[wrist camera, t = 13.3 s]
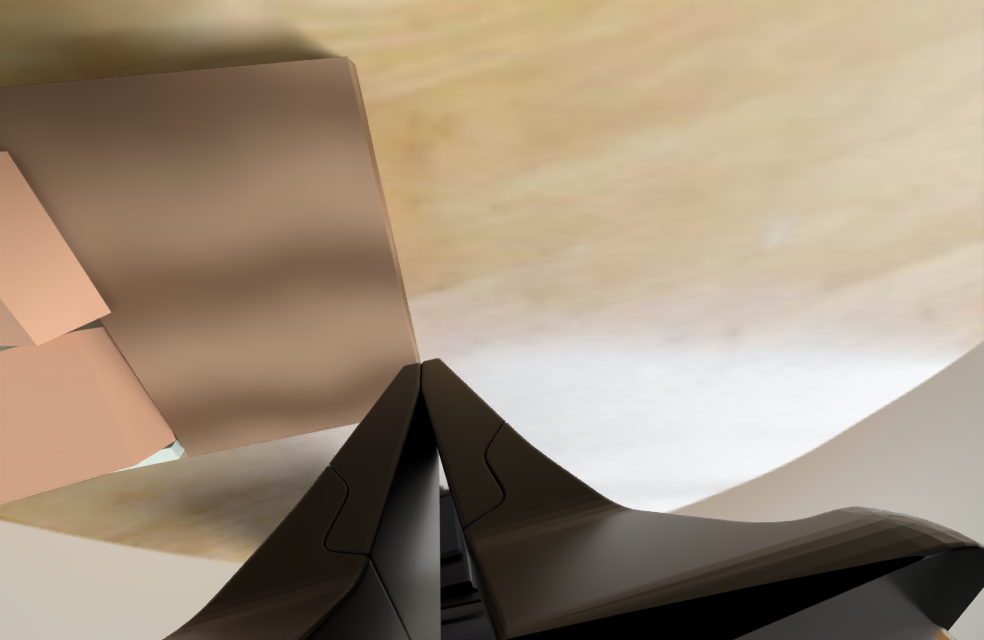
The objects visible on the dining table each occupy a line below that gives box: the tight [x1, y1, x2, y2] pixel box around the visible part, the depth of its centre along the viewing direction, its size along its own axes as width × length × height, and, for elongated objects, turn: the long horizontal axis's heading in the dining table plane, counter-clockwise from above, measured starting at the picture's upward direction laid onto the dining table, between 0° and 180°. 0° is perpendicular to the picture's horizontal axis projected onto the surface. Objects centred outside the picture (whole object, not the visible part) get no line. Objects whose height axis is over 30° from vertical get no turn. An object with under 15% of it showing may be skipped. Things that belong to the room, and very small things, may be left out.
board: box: [0, 57, 421, 457], centre depth 18 cm, size 16×12×2 cm
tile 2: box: [0, 326, 176, 504], centre depth 17 cm, size 6×6×2 cm
